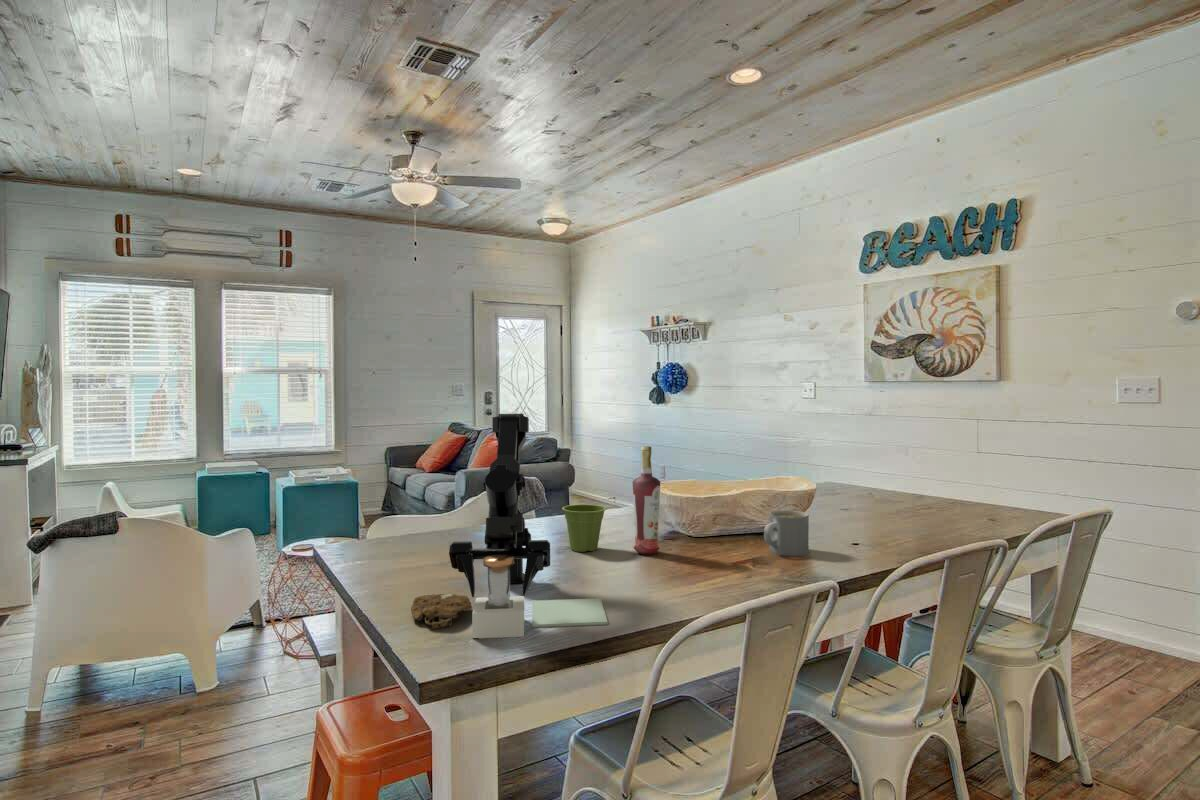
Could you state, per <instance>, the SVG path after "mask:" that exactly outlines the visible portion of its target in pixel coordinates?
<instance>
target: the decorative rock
mask: <svg viewBox="0 0 1200 800" xmlns="http://www.w3.org/2000/svg"><path fill="white" fill-rule="evenodd" d="M472 608H473V606H472V603H471V601H470V598H469V597H468V595H462V594H456V593H439V594H427V595H420V596H417V597H414V599H413V601H412V604H411V607H410V611H411V615H412V616H411V618H412V619H414V620H417V621H419V622H420V621H424V622H425V624H426V625H428V626H430V627H431V628H432V629H433V628H434V629H442V628H445V627H446V626H447V627H450V626H451V625H452V621H453V620H456V619H457V618H459V616H460V615H461V614H462V613H463V611H465V612H467V611H472V610H473V609H472ZM441 627H442V628H441Z"/></svg>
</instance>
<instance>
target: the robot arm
mask: <svg viewBox="0 0 1200 800" xmlns="http://www.w3.org/2000/svg"><path fill="white" fill-rule="evenodd" d="M529 421H530V418H529V417H528V416H526V415H524V413H498V415H497V416H493V417H492V421H491V422H492V425H491V426H492V433H493V434H495V439H496V442H497V450H496V451H497V452H496V459H495V460H493V461H492V462H491V463H490V465H489V472H488V473H487V474H486V475H485V478H484V480H483V491H484V492H486V498H487V503H488V505H489V507H488V517H486V518H485V530H484V545H485V546H486V547H485V548H483V547H481V548H476V547H475V548H473V542H472V541H453V542H452V543H451V544H450V545H449V549H448V556H449V560H450V564H451V568H452V569H454V570H457V571H458V572H459V573H463V574H464V576H465V578H466V580H467V582H468V586H469V590H470V595H471V598H475V593H476V583H475V581H476V580H475V578H476V577H475V567H474V560H483V559H484V558H485V557H487V556H491V555H510V556H513V557H514V565H512V566H510V584H522V596H524V597H526V595H527V593H528V591H529V588H530V586H531V584H532V582H533V580H534V578H535V577H536V575H537V574H538V572H541V571H544V568H548V567H550V566H551V543H550V542H549V541H548V539H536V540H535V539H534V540H533V539H532V534H531V533H530V532H529V527H526V521H525V518H524V515H523V513H521V510H519V509H520V508H519V507H520V505H519V504H520V503H519V502H520V496H521V492H524V490H525V488H526V487H527V479H526V478H525V476H524V473H521V463H520V451H521V449H522V448H523V446H524V445H525V444H526V442H527V434H529V433H530V423H529ZM523 559H526V563H525V569H523V568H524V567H523V566H524V564H523V563H524V560H523ZM524 570H525V571H524Z"/></svg>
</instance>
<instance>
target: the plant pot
mask: <svg viewBox="0 0 1200 800" xmlns="http://www.w3.org/2000/svg"><path fill="white" fill-rule="evenodd" d="M561 509H562V511H564V517H565V519H566V526H567V532H568V539H569V540H568V542H569V546H570V548H569V549H571V550H572V551H573V552H581V553H584V552H587V551H589V552H594V551H596V550H598V546H599V542H600V541H599V540H600V532H601V527H602V521H603V518H604V515H605V512H606V510H607V507H605V506H604V505H598V504H587V503H586V504H585V503H584V504H582V503H581V504H570V505H565V506H562V508H561Z"/></svg>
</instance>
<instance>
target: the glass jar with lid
mask: <svg viewBox="0 0 1200 800" xmlns="http://www.w3.org/2000/svg"><path fill="white" fill-rule="evenodd" d="M482 560H483V563H482V564H483V567H486V568H487V594H488V595H487V597H488V609H508V608H510V596H511V583H510V566H512V565H514V557H513V556H510V555H491V556H487V557H485V558H484V559H482Z"/></svg>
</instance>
